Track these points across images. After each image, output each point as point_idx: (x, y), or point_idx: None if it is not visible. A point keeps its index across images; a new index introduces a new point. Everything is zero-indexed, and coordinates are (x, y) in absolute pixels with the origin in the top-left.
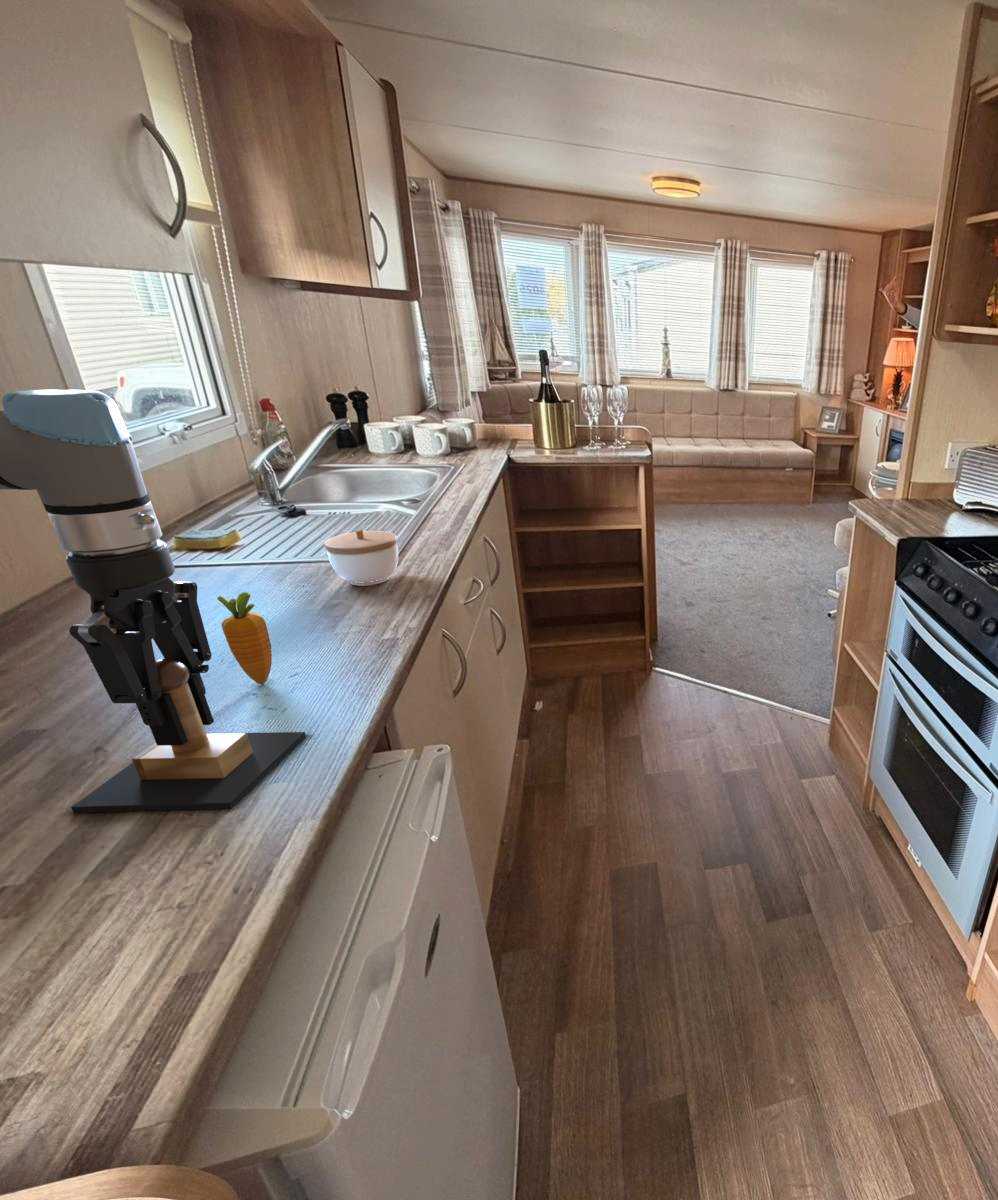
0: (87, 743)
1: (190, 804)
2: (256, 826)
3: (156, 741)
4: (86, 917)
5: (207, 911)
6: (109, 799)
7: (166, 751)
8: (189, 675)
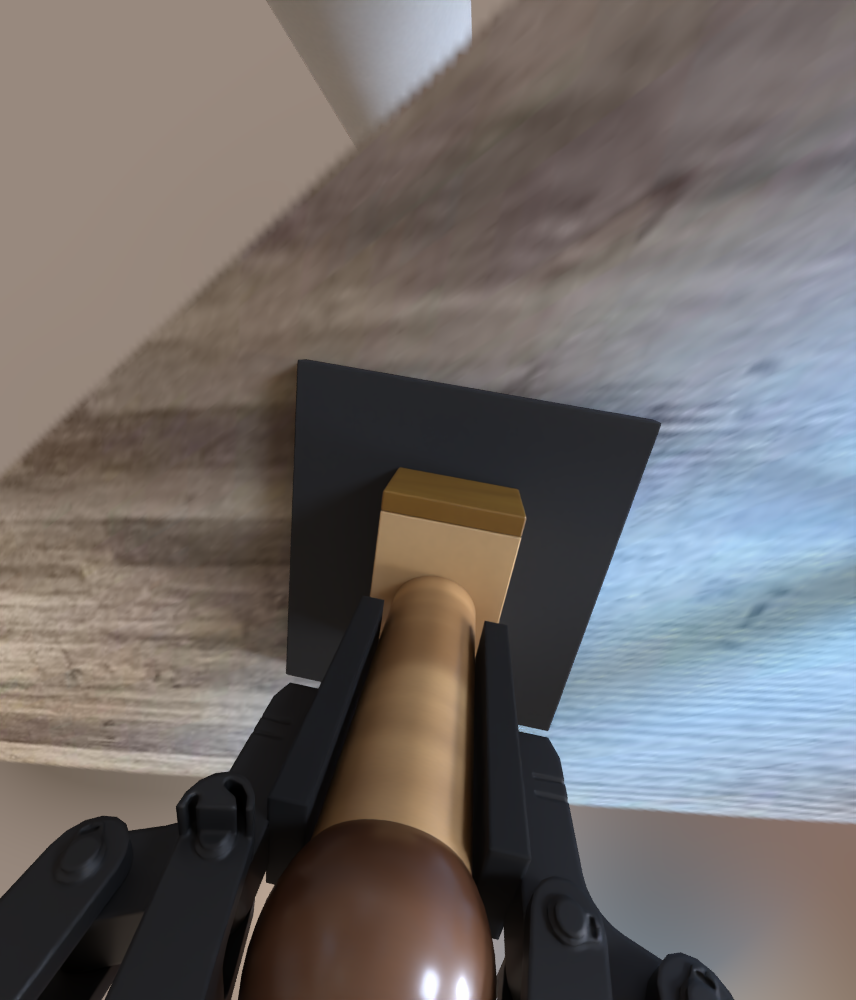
0: (741, 105)
1: (288, 611)
2: (241, 710)
3: (357, 607)
4: (38, 568)
5: (70, 704)
6: (319, 439)
7: (410, 564)
8: (503, 917)
